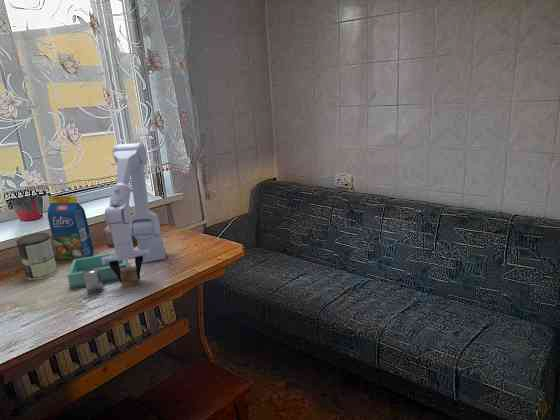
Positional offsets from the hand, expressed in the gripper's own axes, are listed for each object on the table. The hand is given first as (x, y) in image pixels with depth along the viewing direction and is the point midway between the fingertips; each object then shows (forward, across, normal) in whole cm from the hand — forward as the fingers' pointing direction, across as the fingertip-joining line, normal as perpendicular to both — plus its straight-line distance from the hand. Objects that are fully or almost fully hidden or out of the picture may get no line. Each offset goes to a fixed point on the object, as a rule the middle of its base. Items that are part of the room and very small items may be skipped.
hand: (130, 279), depth 139 cm
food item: (+2, -3, +42) cm, 42 cm away
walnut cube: (+1, 0, 0) cm, 1 cm away
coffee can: (+2, -31, +24) cm, 39 cm away
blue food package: (+2, -21, +36) cm, 42 cm away
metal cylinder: (+1, -11, 0) cm, 11 cm away
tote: (+1, -10, +12) cm, 16 cm away
